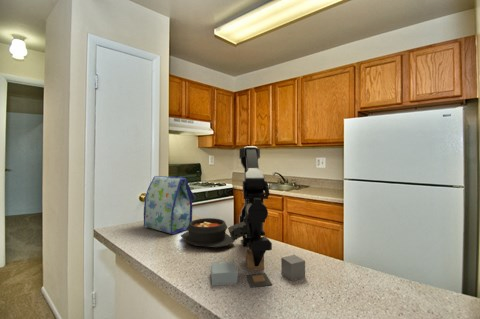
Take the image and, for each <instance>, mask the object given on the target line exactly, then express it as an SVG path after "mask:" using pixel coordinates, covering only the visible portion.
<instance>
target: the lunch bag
mask: <svg viewBox="0 0 480 319" xmlns="http://www.w3.org/2000/svg"><path fill="white" fill-rule="evenodd" d="M195 199H196V197H195V195H194V193H193V192H192V190H191V187H190V185H189V181H188V179H187V178H186V177H182V176H162V175H154V176H153V178H152V180H151V181H150V183H149V185H148V188H147V191H146V193H145V199H144V206H143V227H145V228H148V229H152V230H156V231H160V232H163V233H167V234H171V235H174V234H177V233H180V232H181V231H188V230H187V227H188V226H189V223H190V222H191V221H193V201H194V200H195Z"/></svg>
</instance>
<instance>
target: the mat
mask: <svg viewBox="0 0 480 319" xmlns="http://www.w3.org/2000/svg"><path fill="white" fill-rule="evenodd" d="M245 276H246V279H247V281H248V283H249V286H250V288H258V287H259V288H260V287H269V286H270V287H271V286H273V283H272V281H271V280H270V279H269V277H268V275H267V273H266V272H258V273H246V274H245Z"/></svg>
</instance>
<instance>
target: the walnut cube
mask: <svg viewBox="0 0 480 319" xmlns="http://www.w3.org/2000/svg"><path fill="white" fill-rule="evenodd" d="M244 254H245V261H244V262H245V266H246V268H247V270H248V271H258V270H259V271H260V270H264V269H265V254H264V255H263V257H262V259H261V261H260V264H259V266H255V265H254V259H253V253H252V251H251V250H250V249H249V248H245V252H244Z"/></svg>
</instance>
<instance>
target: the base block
mask: <svg viewBox="0 0 480 319" xmlns="http://www.w3.org/2000/svg"><path fill="white" fill-rule="evenodd" d="M210 275H211V283H212V286H219V285H220V286H221V285H231V284H233V285H234V284H238V270H237V266H236V264H235V261H222V262H220V261H219V262H211V263H210Z"/></svg>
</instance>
